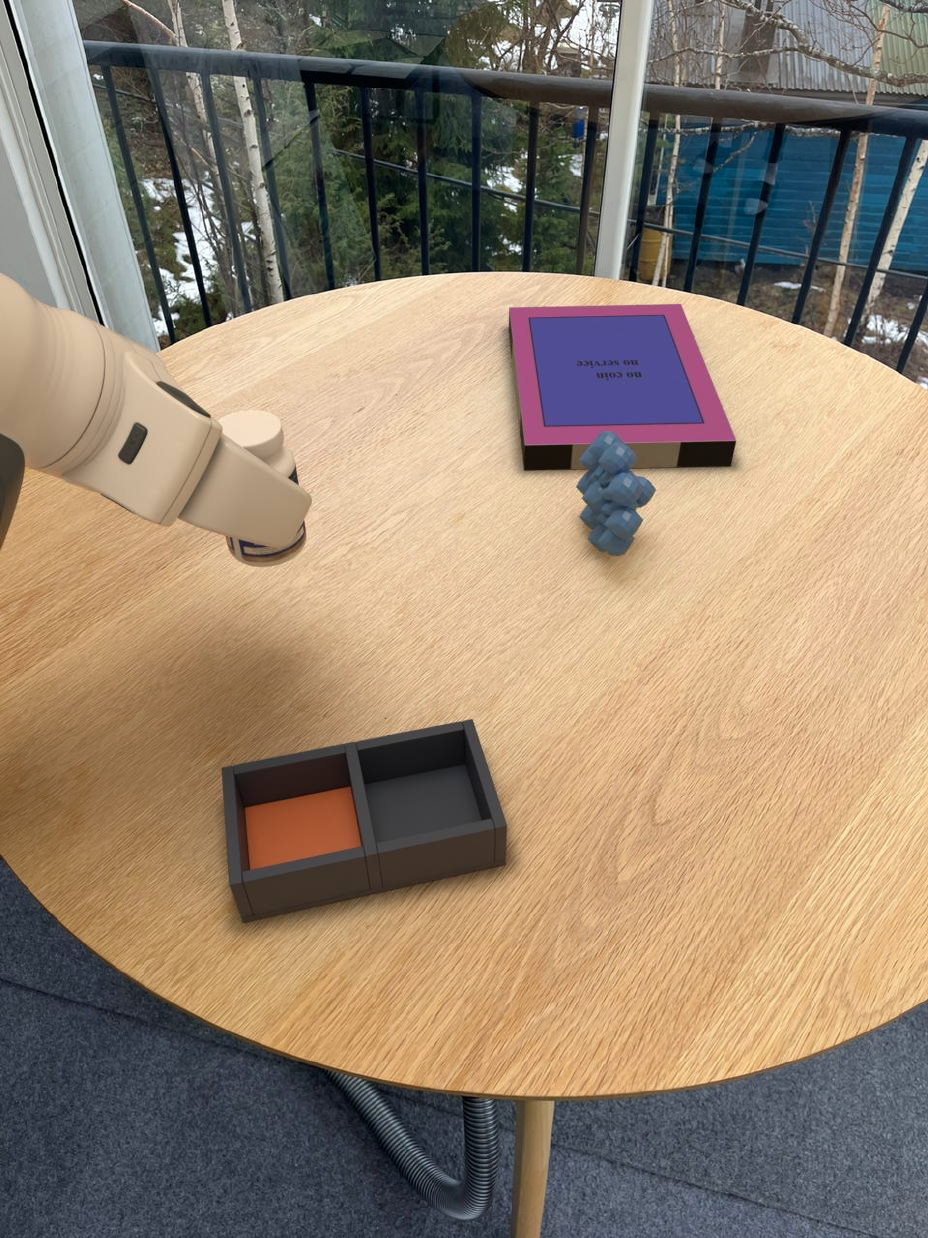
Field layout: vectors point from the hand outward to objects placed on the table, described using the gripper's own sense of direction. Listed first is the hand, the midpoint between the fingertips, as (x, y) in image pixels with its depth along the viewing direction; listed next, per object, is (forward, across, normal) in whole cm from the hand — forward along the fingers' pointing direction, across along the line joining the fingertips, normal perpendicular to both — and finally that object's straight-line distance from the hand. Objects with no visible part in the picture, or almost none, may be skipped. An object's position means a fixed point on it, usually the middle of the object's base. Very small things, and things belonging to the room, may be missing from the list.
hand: (264, 480), depth 65 cm
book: (+47, -8, +23) cm, 53 cm away
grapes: (+32, +10, +8) cm, 35 cm away
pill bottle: (+4, 0, -4) cm, 6 cm away
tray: (+7, +17, -17) cm, 25 cm away
